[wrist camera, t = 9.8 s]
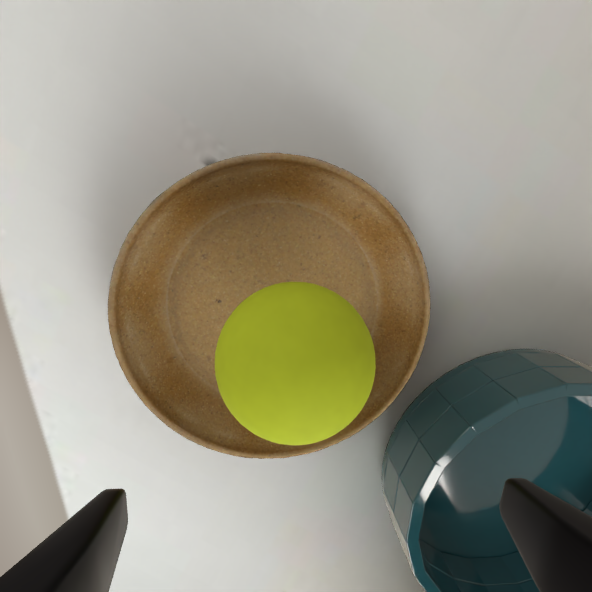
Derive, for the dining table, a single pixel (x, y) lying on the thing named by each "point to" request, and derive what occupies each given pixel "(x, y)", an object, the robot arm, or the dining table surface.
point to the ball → (295, 363)
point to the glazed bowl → (486, 464)
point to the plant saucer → (259, 284)
